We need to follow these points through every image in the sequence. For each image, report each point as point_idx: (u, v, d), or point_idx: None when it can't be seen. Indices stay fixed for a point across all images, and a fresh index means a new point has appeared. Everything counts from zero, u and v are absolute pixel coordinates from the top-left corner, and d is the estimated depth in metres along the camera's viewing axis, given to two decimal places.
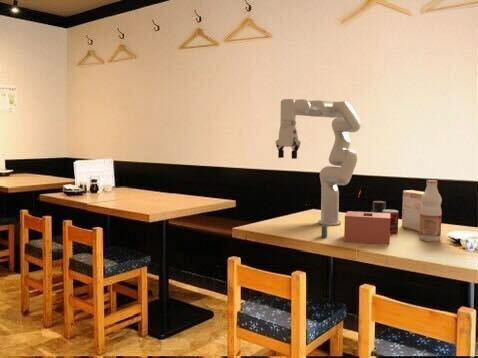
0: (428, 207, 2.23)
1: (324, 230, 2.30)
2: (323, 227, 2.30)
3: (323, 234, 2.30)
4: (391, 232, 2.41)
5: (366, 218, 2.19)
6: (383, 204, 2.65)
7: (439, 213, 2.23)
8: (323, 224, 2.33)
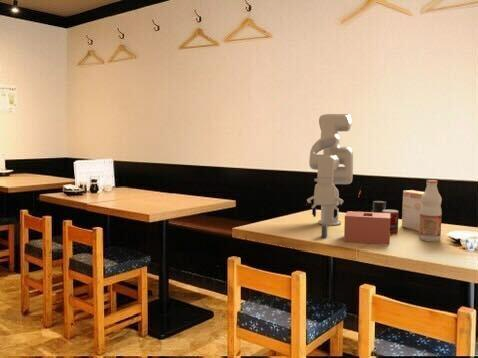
0: (428, 207, 2.23)
1: (324, 230, 2.30)
2: (323, 227, 2.30)
3: (323, 234, 2.30)
4: (391, 232, 2.41)
5: (366, 218, 2.19)
6: (383, 204, 2.65)
7: (439, 213, 2.23)
8: (323, 224, 2.33)
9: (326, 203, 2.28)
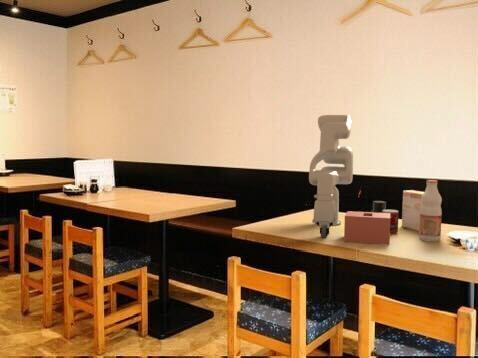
0: (428, 207, 2.23)
1: (324, 230, 2.30)
2: (323, 227, 2.30)
3: (323, 234, 2.30)
4: (391, 232, 2.41)
5: (366, 218, 2.19)
6: (383, 204, 2.65)
7: (439, 213, 2.23)
8: (323, 224, 2.33)
9: (326, 220, 2.29)
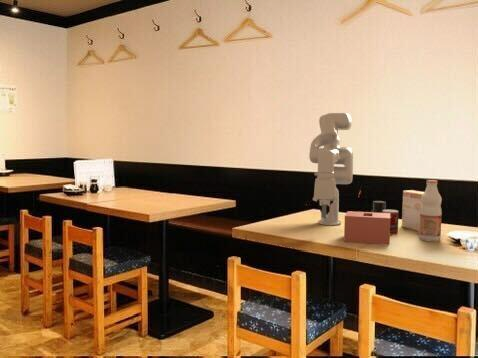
0: (428, 207, 2.23)
1: (324, 209, 2.29)
2: (324, 206, 2.30)
3: (323, 213, 2.29)
4: (391, 232, 2.41)
5: (366, 218, 2.19)
6: (383, 204, 2.65)
7: (439, 213, 2.23)
8: None
9: (326, 197, 2.29)
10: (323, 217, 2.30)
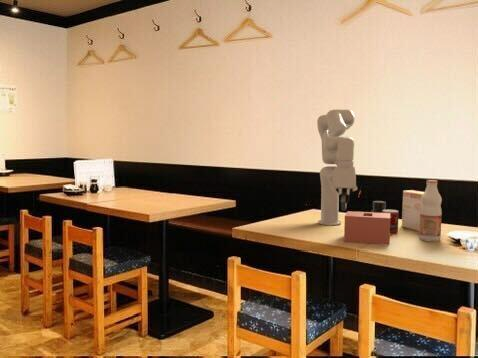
0: (428, 207, 2.23)
1: (344, 195, 2.26)
2: (343, 193, 2.27)
3: (343, 199, 2.25)
4: (391, 232, 2.41)
5: (366, 218, 2.19)
6: (383, 204, 2.65)
7: (439, 213, 2.23)
8: None
9: (346, 186, 2.25)
10: (342, 204, 2.25)
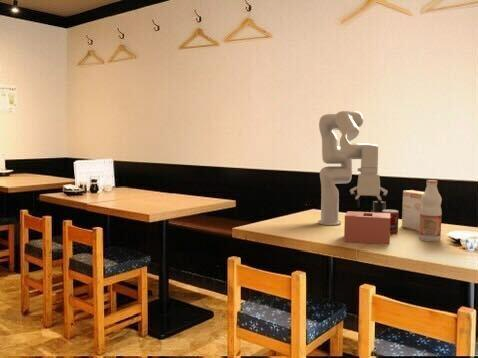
0: (428, 207, 2.23)
1: None
2: None
3: None
4: (391, 232, 2.41)
5: (366, 218, 2.19)
6: (383, 204, 2.65)
7: (439, 213, 2.23)
8: None
9: (370, 193, 2.22)
10: None
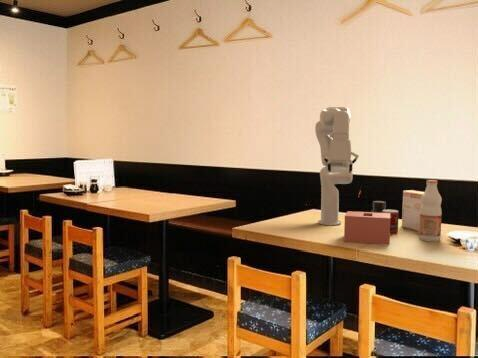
0: (428, 207, 2.23)
1: None
2: None
3: None
4: (391, 232, 2.41)
5: (366, 218, 2.19)
6: (383, 204, 2.65)
7: (439, 213, 2.23)
8: None
9: (342, 158, 2.32)
10: None
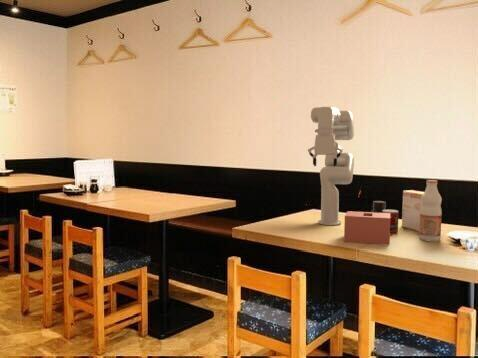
0: (428, 207, 2.23)
1: None
2: None
3: None
4: (391, 232, 2.41)
5: (366, 218, 2.19)
6: (383, 204, 2.65)
7: (439, 213, 2.23)
8: None
9: (326, 152, 2.38)
10: None
